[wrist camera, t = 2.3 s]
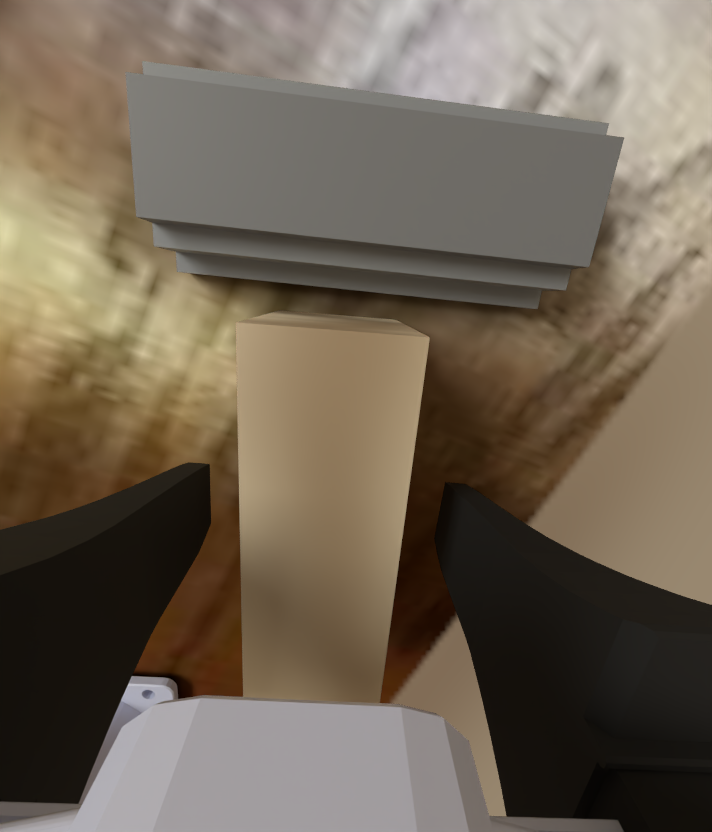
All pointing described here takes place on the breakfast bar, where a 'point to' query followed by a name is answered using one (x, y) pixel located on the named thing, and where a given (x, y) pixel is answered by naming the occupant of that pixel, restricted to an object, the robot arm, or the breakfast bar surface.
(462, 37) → the breakfast bar surface
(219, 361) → the breakfast bar surface
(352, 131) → the stepped block
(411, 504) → the breakfast bar surface
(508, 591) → the robot arm
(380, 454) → the bar
